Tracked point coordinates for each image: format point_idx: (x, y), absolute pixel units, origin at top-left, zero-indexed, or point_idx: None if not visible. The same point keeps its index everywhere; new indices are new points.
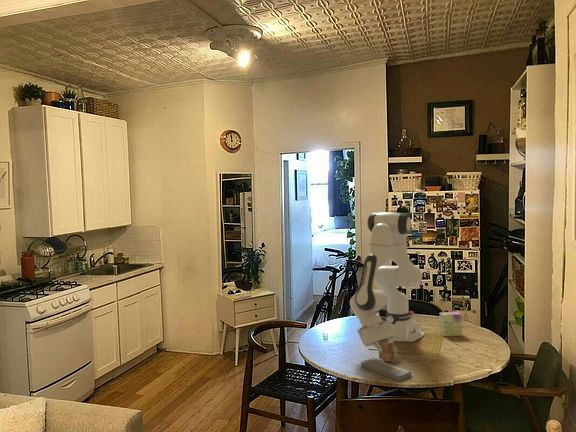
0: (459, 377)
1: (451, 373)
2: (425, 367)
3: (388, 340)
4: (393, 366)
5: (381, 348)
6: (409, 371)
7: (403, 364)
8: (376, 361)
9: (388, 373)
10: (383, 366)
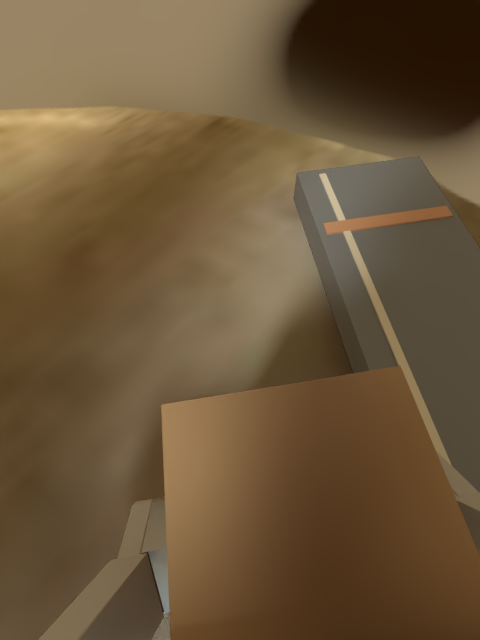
0: (94, 112)
1: (76, 147)
2: (106, 251)
3: (200, 584)
4: (364, 277)
5: (453, 470)
6: (305, 178)
7: (189, 367)
8: (470, 470)
9: (456, 223)
10: (449, 320)
